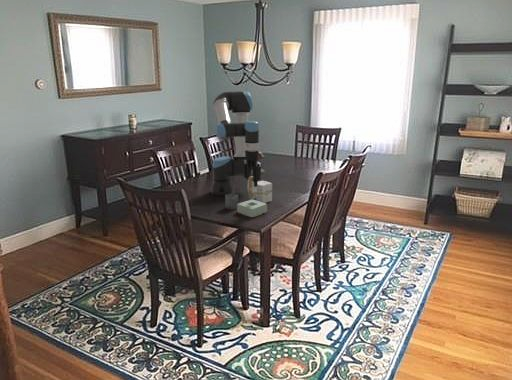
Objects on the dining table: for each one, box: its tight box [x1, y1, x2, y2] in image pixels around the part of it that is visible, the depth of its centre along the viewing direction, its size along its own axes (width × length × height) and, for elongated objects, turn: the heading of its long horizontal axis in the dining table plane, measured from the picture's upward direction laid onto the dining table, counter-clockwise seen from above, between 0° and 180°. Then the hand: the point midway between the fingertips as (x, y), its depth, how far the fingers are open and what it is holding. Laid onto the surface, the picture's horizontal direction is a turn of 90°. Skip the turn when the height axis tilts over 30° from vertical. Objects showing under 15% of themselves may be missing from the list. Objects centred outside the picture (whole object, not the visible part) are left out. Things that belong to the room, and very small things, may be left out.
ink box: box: [253, 180, 273, 204], centre depth 249 cm, size 9×8×12 cm
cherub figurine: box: [258, 149, 266, 174], centre depth 321 cm, size 18×18×18 cm
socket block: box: [236, 199, 268, 218], centre depth 231 cm, size 12×12×5 cm
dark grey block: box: [224, 193, 239, 211], centre depth 238 cm, size 6×6×8 cm
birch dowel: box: [248, 175, 255, 200], centre depth 227 cm, size 4×4×12 cm
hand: (252, 191), depth 227 cm, fingers closed on birch dowel, 3 cm apart
